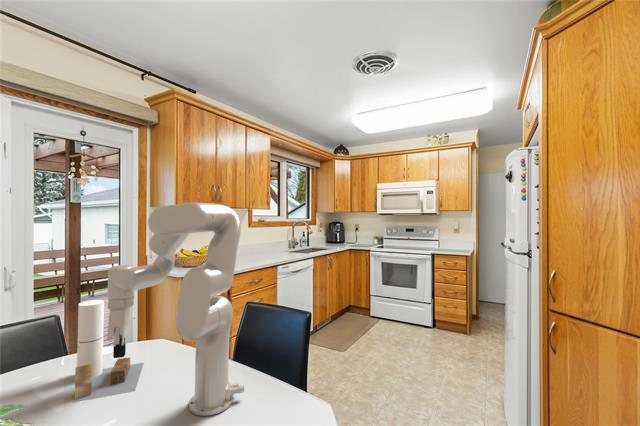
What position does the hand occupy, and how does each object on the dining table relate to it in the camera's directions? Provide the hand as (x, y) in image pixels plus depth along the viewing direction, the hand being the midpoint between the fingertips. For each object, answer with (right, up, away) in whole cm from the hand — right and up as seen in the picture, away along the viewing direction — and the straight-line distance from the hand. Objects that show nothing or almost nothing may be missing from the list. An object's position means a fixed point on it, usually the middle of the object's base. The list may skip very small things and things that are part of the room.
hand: (119, 356), depth 102 cm
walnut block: (+1, -6, -2) cm, 6 cm away
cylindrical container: (-12, -8, +3) cm, 15 cm away
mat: (-2, -8, 0) cm, 8 cm away
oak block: (-6, -8, -8) cm, 13 cm away
